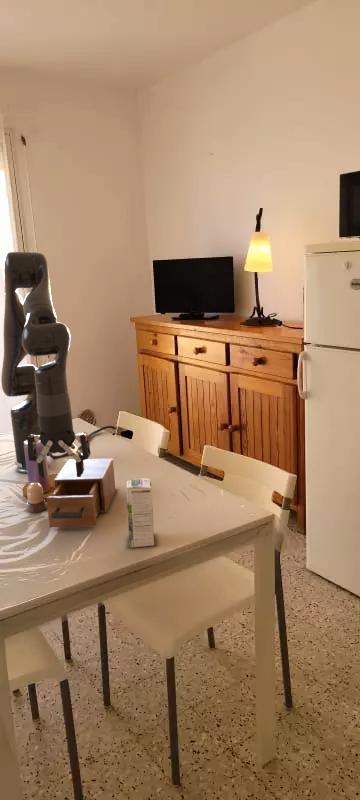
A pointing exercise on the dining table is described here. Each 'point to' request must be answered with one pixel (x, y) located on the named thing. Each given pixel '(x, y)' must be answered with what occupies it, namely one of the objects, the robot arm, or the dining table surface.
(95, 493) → the drawer
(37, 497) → the egg
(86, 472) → the cabinet
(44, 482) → the beverage can
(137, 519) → the syrup box
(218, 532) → the dining table surface
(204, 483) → the dining table surface
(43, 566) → the dining table surface
